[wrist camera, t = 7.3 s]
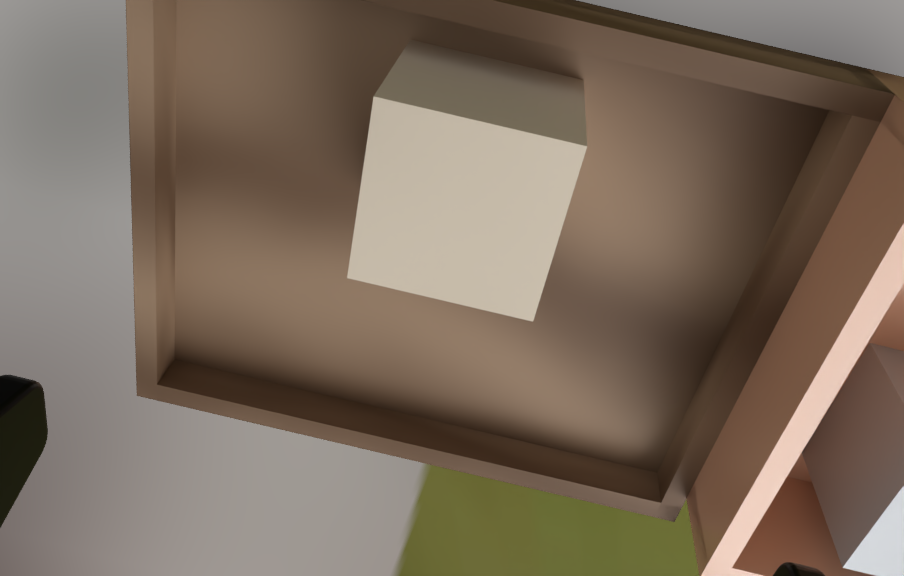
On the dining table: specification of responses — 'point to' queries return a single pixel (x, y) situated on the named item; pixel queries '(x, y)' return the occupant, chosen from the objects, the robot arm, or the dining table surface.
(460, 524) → the dining table surface
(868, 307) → the pink storage bin
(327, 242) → the parts tray
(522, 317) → the beige cube
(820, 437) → the pale grey matte cube
